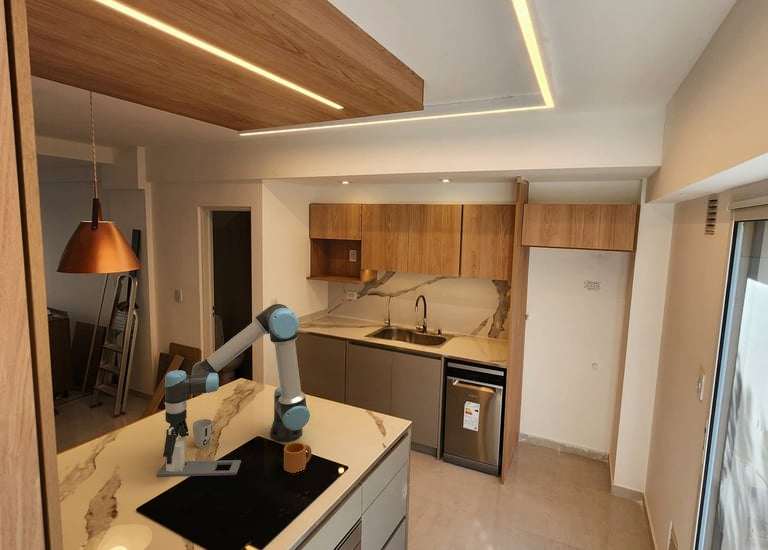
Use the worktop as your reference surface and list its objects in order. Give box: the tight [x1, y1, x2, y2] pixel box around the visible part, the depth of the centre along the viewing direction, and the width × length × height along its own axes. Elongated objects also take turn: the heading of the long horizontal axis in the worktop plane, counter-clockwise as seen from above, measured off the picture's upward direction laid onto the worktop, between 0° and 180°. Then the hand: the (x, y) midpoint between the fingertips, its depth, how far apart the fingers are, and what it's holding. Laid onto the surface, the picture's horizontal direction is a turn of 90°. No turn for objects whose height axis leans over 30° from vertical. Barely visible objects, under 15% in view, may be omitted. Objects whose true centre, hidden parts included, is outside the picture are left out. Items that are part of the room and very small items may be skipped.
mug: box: [283, 441, 312, 473], centre depth 177 cm, size 9×12×9 cm
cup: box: [191, 418, 213, 448], centre depth 191 cm, size 8×8×10 cm
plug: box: [168, 440, 186, 472], centre depth 171 cm, size 5×4×11 cm
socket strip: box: [156, 459, 242, 478], centre depth 173 cm, size 30×9×1 cm, turn 97°
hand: (176, 461), depth 171 cm, fingers open, 13 cm apart
